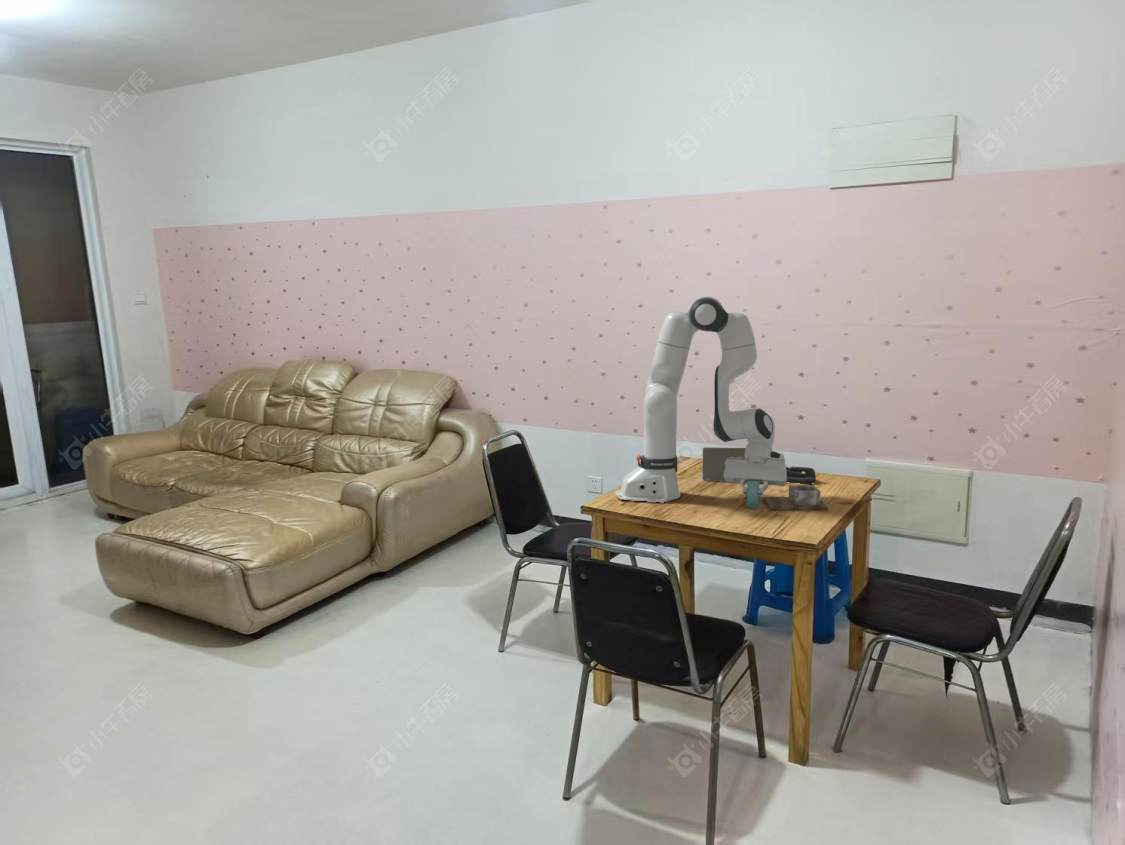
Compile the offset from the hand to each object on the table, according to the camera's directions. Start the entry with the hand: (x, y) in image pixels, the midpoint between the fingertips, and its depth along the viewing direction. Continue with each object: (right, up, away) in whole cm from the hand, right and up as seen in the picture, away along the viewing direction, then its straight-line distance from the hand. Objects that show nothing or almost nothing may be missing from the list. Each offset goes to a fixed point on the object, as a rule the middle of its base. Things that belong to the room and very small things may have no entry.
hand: (752, 493), depth 248 cm
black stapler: (+19, +1, +36) cm, 41 cm away
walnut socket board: (+14, -4, +3) cm, 15 cm away
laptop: (0, +2, +41) cm, 42 cm away
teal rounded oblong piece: (0, -4, +1) cm, 5 cm away
